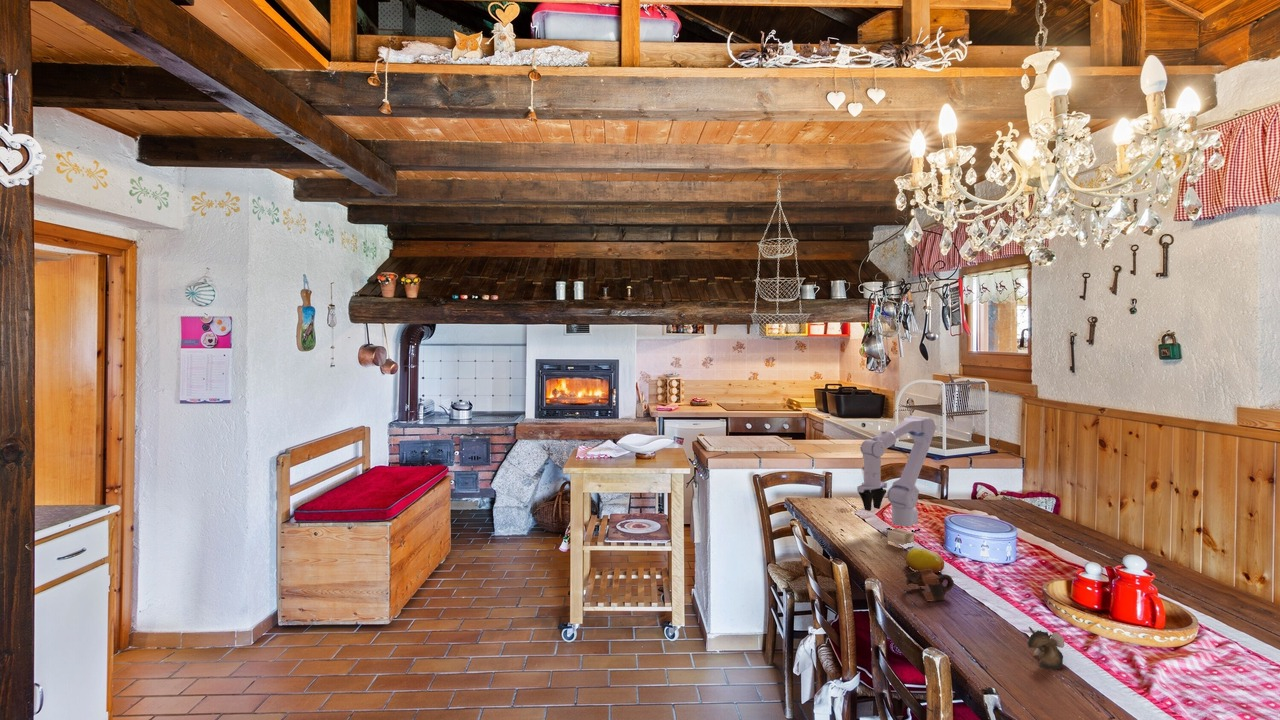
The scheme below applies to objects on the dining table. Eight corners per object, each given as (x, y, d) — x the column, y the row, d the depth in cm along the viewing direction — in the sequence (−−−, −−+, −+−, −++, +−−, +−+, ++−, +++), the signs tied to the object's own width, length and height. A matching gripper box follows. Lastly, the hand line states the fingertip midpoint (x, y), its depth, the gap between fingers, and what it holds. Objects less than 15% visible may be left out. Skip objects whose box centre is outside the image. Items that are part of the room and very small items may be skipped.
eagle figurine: (1017, 639, 133) (1017, 649, 125) (1037, 616, 132) (1039, 624, 124) (1051, 667, 129) (1054, 678, 121) (1073, 643, 127) (1076, 653, 120)
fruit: (954, 575, 173) (946, 550, 173) (920, 585, 174) (912, 560, 173) (935, 561, 185) (928, 537, 184) (903, 570, 185) (896, 547, 185)
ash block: (898, 542, 206) (898, 528, 206) (913, 547, 201) (914, 532, 201) (887, 544, 203) (887, 530, 203) (902, 549, 198) (903, 535, 198)
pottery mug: (916, 604, 155) (905, 572, 159) (911, 607, 163) (899, 576, 167) (963, 595, 154) (950, 563, 157) (954, 598, 162) (942, 568, 166)
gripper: (875, 468, 221) (875, 504, 221) (850, 472, 213) (850, 509, 213) (892, 471, 215) (891, 508, 215) (866, 476, 207) (866, 514, 207)
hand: (872, 509), depth 214 cm, fingers open, 5 cm apart
